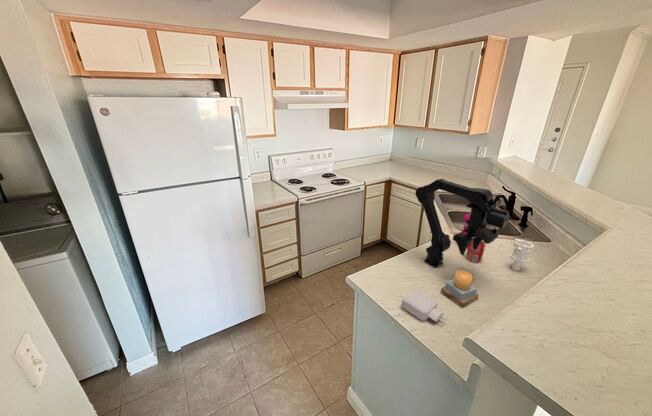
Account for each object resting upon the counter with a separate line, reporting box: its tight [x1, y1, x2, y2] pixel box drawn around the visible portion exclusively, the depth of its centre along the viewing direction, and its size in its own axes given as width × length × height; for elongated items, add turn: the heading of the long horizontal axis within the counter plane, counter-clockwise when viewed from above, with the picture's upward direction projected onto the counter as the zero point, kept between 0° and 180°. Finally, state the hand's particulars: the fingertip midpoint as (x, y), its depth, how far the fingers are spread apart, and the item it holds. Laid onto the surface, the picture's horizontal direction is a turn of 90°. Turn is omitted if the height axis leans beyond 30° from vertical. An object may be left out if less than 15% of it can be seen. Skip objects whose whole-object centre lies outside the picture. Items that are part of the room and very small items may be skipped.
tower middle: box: [444, 279, 478, 300], centre depth 107 cm, size 8×8×3 cm
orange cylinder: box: [453, 270, 474, 290], centre depth 105 cm, size 6×6×5 cm
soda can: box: [465, 238, 486, 263], centre depth 131 cm, size 7×7×12 cm
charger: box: [400, 289, 448, 323], centre depth 99 cm, size 5×9×15 cm
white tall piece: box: [509, 238, 534, 272], centre depth 124 cm, size 7×7×15 cm
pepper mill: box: [459, 213, 470, 249], centre depth 143 cm, size 7×7×20 cm
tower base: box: [440, 286, 480, 309], centre depth 108 cm, size 10×10×3 cm
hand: (468, 252), depth 115 cm, fingers open, 9 cm apart
